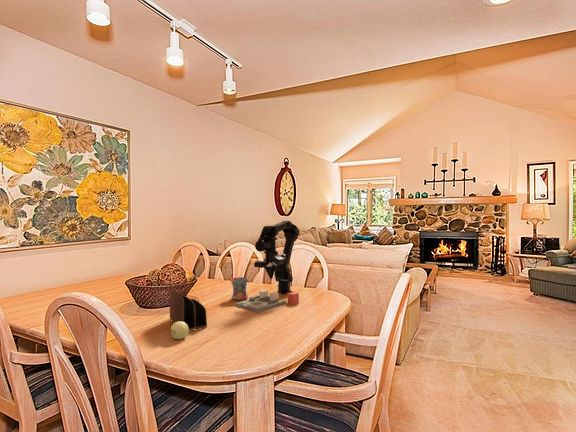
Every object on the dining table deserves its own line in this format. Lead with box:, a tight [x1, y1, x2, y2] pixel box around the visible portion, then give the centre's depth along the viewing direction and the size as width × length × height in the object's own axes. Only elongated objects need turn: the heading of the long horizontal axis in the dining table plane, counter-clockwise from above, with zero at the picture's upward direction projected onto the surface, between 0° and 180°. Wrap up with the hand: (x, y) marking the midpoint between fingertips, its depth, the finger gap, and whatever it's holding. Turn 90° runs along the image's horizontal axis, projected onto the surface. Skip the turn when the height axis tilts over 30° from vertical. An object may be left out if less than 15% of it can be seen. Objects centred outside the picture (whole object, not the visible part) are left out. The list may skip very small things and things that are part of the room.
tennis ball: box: [169, 321, 190, 340], centre depth 125 cm, size 6×7×7 cm
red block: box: [286, 291, 300, 306], centre depth 168 cm, size 4×4×5 cm
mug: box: [230, 276, 249, 301], centre depth 180 cm, size 12×9×11 cm
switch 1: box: [258, 289, 269, 298], centre depth 175 cm, size 3×4×4 cm
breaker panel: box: [235, 295, 288, 313], centre depth 167 cm, size 19×17×3 cm
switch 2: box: [268, 291, 280, 301], centre depth 169 cm, size 3×4×4 cm
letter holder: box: [169, 289, 208, 331], centre depth 141 cm, size 10×20×14 cm, turn 33°
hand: (271, 278), depth 179 cm, fingers closed
